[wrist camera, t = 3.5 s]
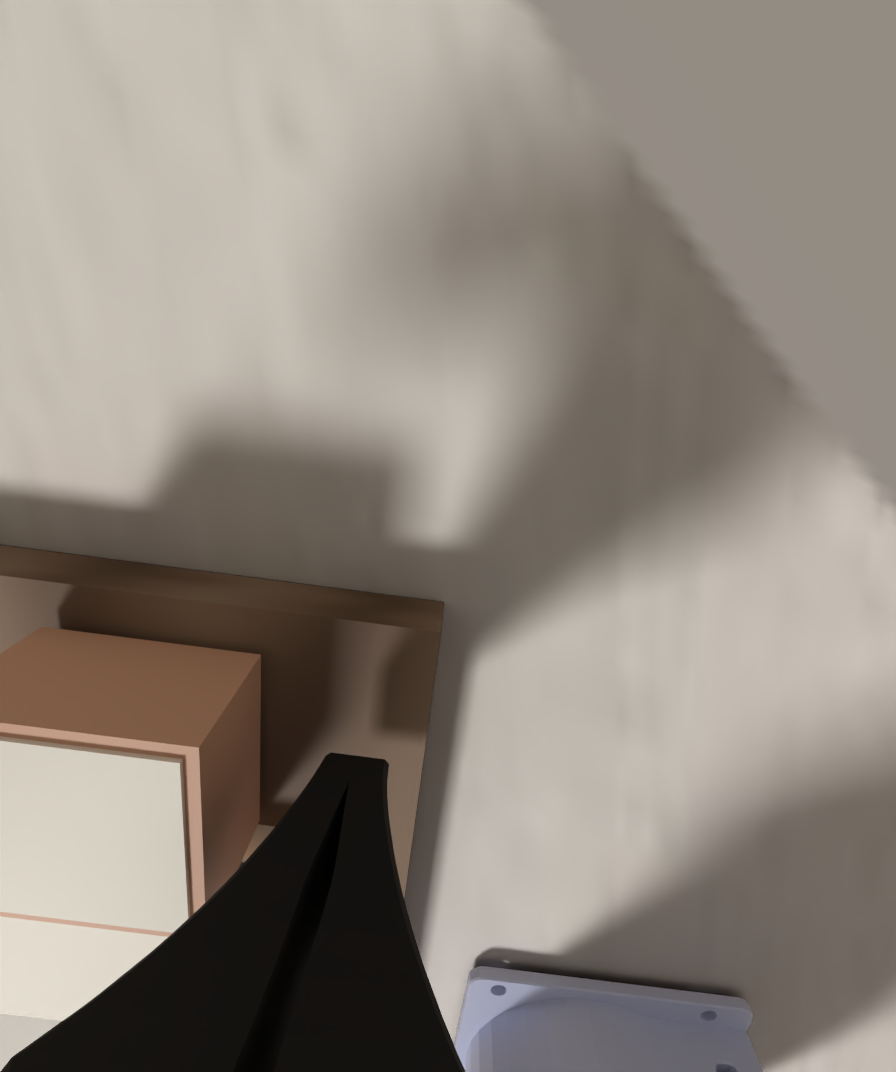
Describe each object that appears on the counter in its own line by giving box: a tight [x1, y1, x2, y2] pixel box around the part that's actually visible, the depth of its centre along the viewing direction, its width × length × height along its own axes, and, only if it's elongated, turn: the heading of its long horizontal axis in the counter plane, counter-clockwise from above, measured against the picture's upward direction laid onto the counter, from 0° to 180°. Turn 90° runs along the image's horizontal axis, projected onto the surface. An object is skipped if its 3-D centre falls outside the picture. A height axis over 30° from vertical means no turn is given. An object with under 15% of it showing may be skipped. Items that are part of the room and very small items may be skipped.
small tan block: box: [0, 627, 261, 937], centre depth 12 cm, size 5×5×3 cm
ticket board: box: [0, 545, 444, 1021], centre depth 15 cm, size 19×16×3 cm
